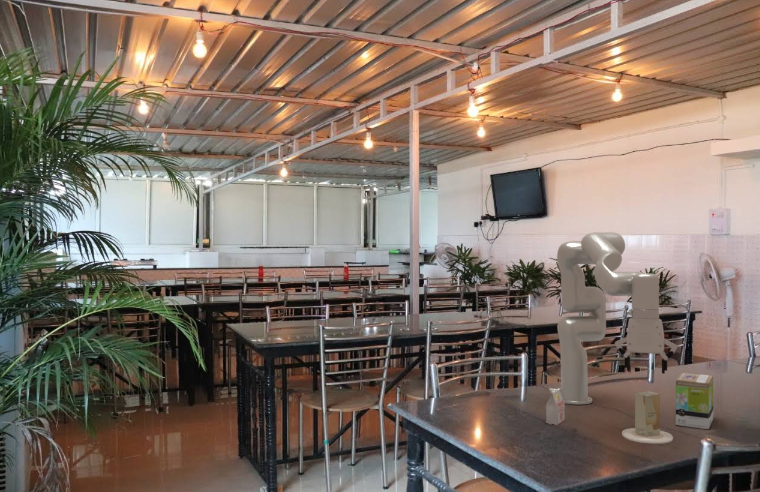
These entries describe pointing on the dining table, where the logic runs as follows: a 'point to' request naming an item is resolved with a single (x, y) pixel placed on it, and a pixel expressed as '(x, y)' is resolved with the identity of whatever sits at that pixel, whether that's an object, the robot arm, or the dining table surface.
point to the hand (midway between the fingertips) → (645, 371)
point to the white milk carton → (555, 409)
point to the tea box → (694, 400)
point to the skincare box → (647, 413)
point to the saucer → (654, 439)
